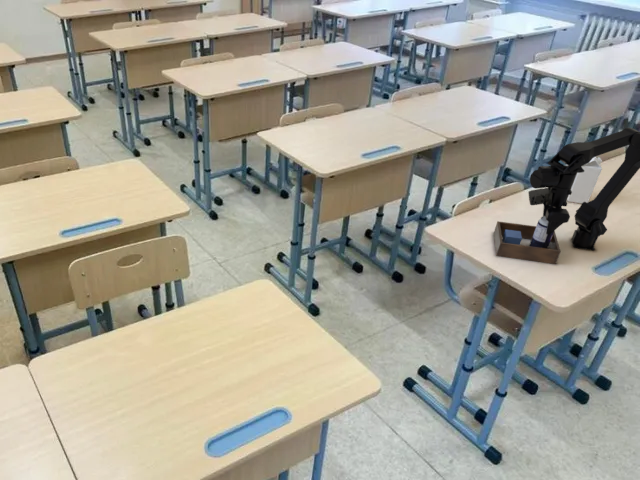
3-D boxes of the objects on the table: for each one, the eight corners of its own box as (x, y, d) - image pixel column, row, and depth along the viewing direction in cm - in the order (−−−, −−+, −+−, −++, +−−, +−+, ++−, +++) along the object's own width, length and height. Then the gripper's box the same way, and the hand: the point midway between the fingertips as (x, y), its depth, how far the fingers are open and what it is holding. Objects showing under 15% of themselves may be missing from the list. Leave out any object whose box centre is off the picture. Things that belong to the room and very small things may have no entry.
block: (516, 243, 194) (520, 231, 191) (517, 250, 190) (522, 238, 187) (501, 241, 195) (505, 229, 192) (502, 248, 192) (506, 236, 188)
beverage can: (547, 255, 188) (560, 224, 181) (530, 253, 189) (541, 222, 182) (544, 246, 192) (555, 216, 185) (526, 244, 193) (537, 214, 186)
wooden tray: (549, 240, 196) (554, 228, 192) (555, 264, 184) (560, 251, 181) (493, 233, 200) (497, 221, 197) (496, 255, 188) (500, 243, 185)
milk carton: (567, 201, 219) (585, 156, 207) (566, 194, 224) (583, 149, 212) (587, 204, 217) (606, 159, 205) (585, 197, 222) (604, 152, 210)
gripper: (531, 170, 185) (517, 211, 194) (538, 194, 171) (522, 237, 180) (567, 173, 182) (552, 215, 192) (577, 199, 168) (560, 242, 178)
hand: (546, 227), depth 185 cm, fingers open, 9 cm apart
